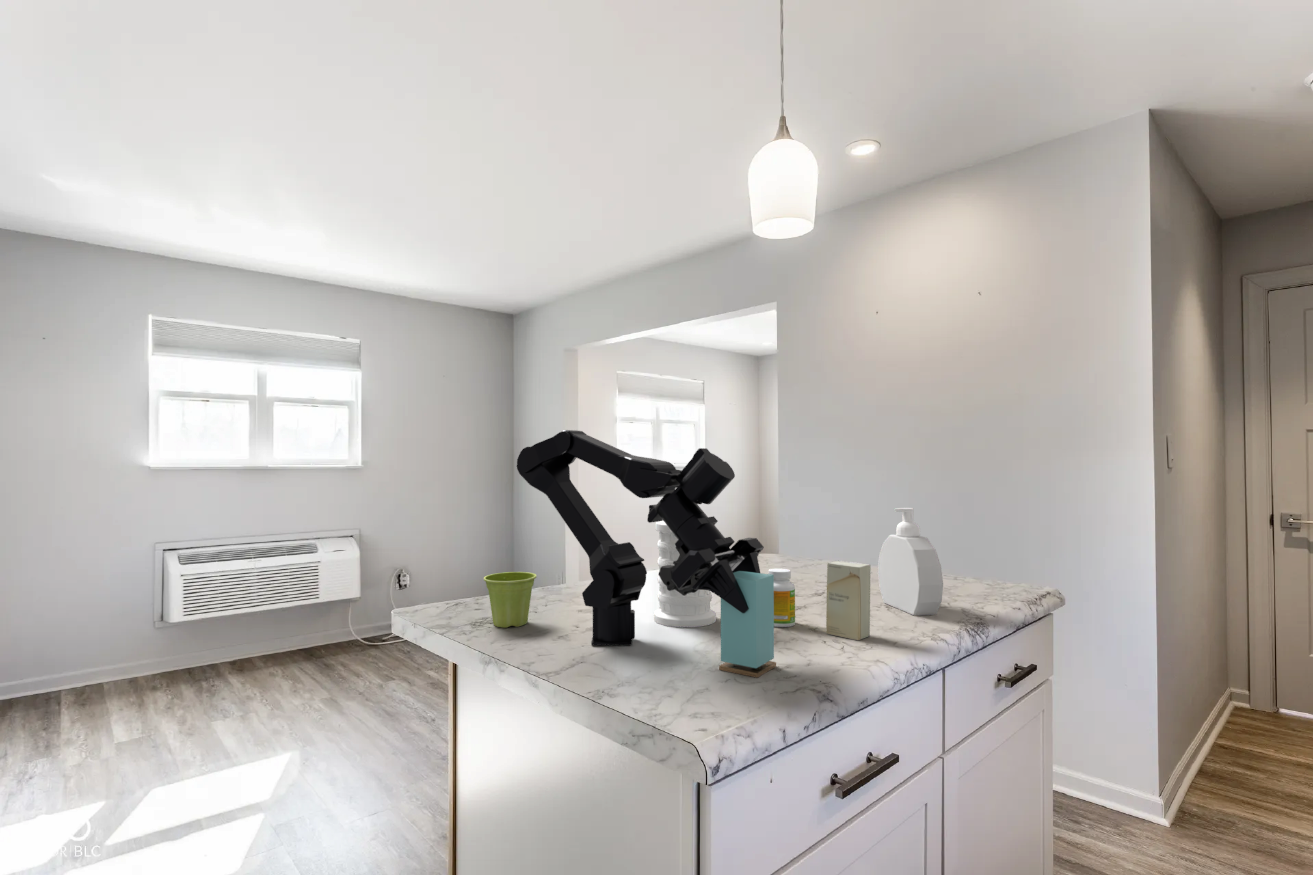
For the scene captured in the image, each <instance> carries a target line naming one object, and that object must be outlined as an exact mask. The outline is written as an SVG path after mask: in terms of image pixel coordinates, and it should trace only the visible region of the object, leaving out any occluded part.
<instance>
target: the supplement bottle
mask: <svg viewBox="0 0 1313 875" xmlns="http://www.w3.org/2000/svg"><path fill="white" fill-rule="evenodd" d="M767 574H771V575H774V628H788V627H789V628H790V627H793V626H795V624H796V586H795V583H793V582H792V581H790V579H791V578H792V571H791V570H790V569H787V568H781V567H780V568H769V569H768V573H767Z"/></svg>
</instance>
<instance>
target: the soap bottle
mask: <svg viewBox="0 0 1313 875" xmlns="http://www.w3.org/2000/svg"><path fill="white" fill-rule="evenodd" d="M893 512H895V513H902V516H901V517H902V521H901V522H898V524H897V525H896V528H895V530H896V532H895V534H889V535H888V537H887V538H886V539H885V540H884V541H883V543H882V544H881V545H882V546H881V549H880V551H879V554H878V562H877V563H878V564H877V576H878V586H879V587H878V588H879V591H880V596H881V597H882V601H883V603H884V604H886V605H889V606H891V607H892V606H893V607H892V608H895V609H897V608H898V610H899V609H900V611H902V610H903V611H902V612H904V613H907V614H909V615H912V616H914V615H918V616H933V615H934V614H936V615H938V612H939V609H940V607H941V604H942V600H943V593H944V592H943V590H944V580H943V571H942V565H941V564H942V563H941V562H940V558H939V556H938V552H937V550H936V548H935V547H934V545H933V544H932V543H931V541H930V539H929V538H928V537H925V536H921V528H920V526H919V524H918V523H916V522H915V520H914V508H913V507H896V508H893ZM934 616H935V615H934Z"/></svg>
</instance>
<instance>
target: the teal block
mask: <svg viewBox="0 0 1313 875" xmlns="http://www.w3.org/2000/svg"><path fill="white" fill-rule="evenodd" d="M733 574H734V576H735V578H736V580H737V583H738V585H739V587H740V589H741V591H742V593H743V595H744V598H745V600H746V602H747V605H748V608H749V609H748V611H747V612H746V613H741V612H740V611H739V610H737V609H736V608H734V607H733V606H732V605H730V604H729V603H727V602H726V601H725V600H723V599H722V598H720V662H723V663H725V662H728V663H732V664H737V665H742V666H747V667H752V668H758V667H760V666H761V665H763V664H765V663H767V662H768V661H772V660H774V659H775V642H774V641H775V627H774V575H771V574H768V573H763V572H762V573H761V572H760V573H754V572H745V571H737V572H734V573H733Z"/></svg>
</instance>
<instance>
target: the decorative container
mask: <svg viewBox="0 0 1313 875" xmlns="http://www.w3.org/2000/svg"><path fill="white" fill-rule="evenodd" d="M655 531H657V532H658V533H659V536H658V540H657V543H656V544H657V549H658V550H659V551H658V553H659V556H658V558H657V561H656V562H657V565H658V567H659V571H660V569H661V567H662V566H666V565H674V564H673V562H674V561H677V560H678V558H679V556H680V554H679V552H678V551H677V549H676V545H675V543H676V542H677V541H678V539H677V538H676V536H675V535H674V534H673V533H672V531H671V530H670V529H669V527H668V526H667V525H666V523H665V522H664V521H663V520H662V521H658V522H655ZM657 584H659V586H658V589H659V591H658V592H657V593H658V594H657V600H658V602H659V603H658V604H659V606H658V609H656V610H655V611H654V612H653V620H654V622H655V623H656V624H659V625H661V626H666V627H671V628H672V627H673V628H698V627H700V628H701V627H705V626H709V625H712V624H714V623H715V622H716V621H717V612H716V611H715V610H713V609H712V608H711V602H712V599H713V594H712V592H711V591H709V590H697V591H696V592H694V593H692V592H691V593H688V594H687V595H685V596H683V595H682V594H681V593H679V592H678V591H676V590H671V591H669V590H667V586H666V585H665V584H664V583H663V582H662V580H661V578H660V576H659V575H657Z"/></svg>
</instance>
